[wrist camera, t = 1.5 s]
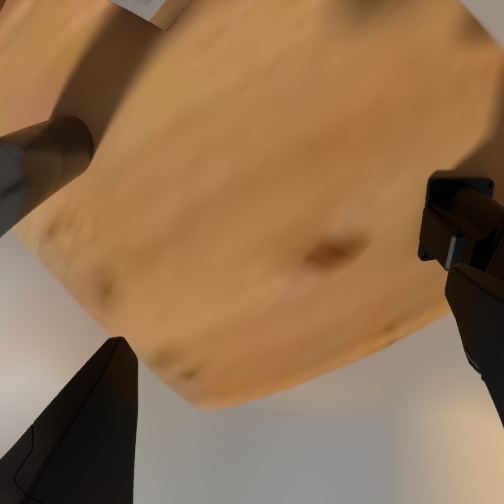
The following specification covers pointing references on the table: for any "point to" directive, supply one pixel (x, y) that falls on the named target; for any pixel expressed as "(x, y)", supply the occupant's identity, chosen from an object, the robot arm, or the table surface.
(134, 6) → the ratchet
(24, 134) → the dark metal cylinder
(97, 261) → the table surface
